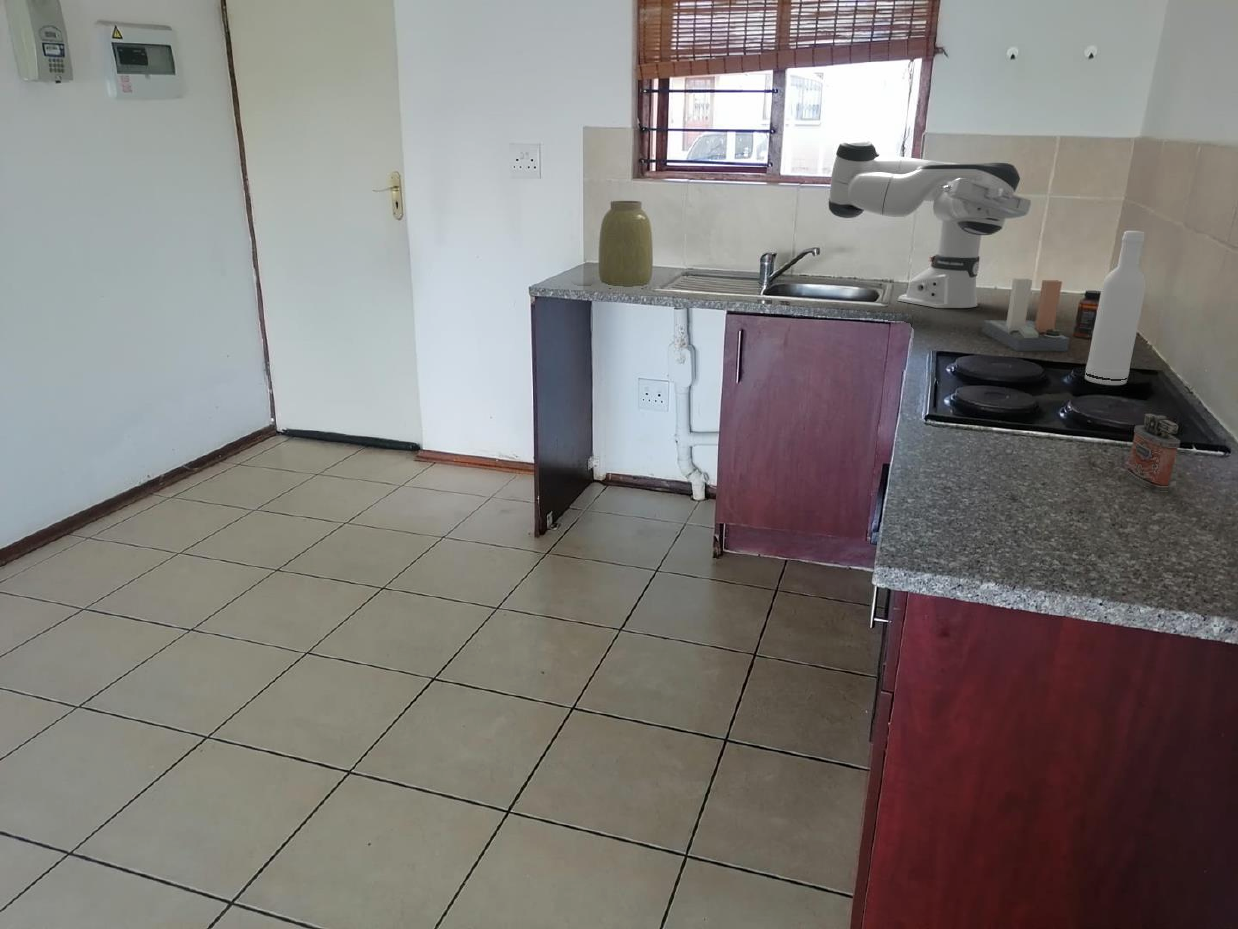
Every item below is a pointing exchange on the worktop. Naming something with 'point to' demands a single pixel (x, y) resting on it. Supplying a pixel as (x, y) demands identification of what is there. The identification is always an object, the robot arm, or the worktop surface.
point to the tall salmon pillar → (1048, 305)
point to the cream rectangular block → (1018, 304)
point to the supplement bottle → (1087, 314)
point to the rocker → (1028, 332)
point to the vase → (625, 246)
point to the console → (1018, 342)
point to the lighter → (1153, 453)
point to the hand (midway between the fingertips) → (1007, 193)
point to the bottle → (1118, 315)
